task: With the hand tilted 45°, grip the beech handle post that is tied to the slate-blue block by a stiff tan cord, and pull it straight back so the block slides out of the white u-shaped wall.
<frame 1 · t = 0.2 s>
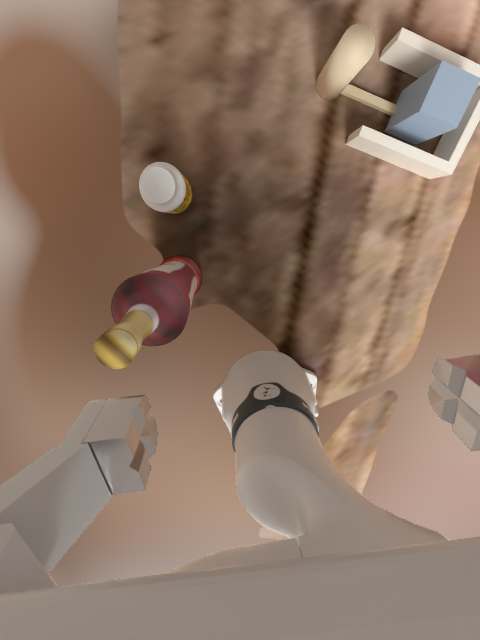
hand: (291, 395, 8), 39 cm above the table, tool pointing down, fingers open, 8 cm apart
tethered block: (408, 118, 40), on the table
supplement bottle: (174, 193, 43), on the table
white u-shaped wall: (408, 118, 40), on the table
liquor: (180, 276, 47), on the table
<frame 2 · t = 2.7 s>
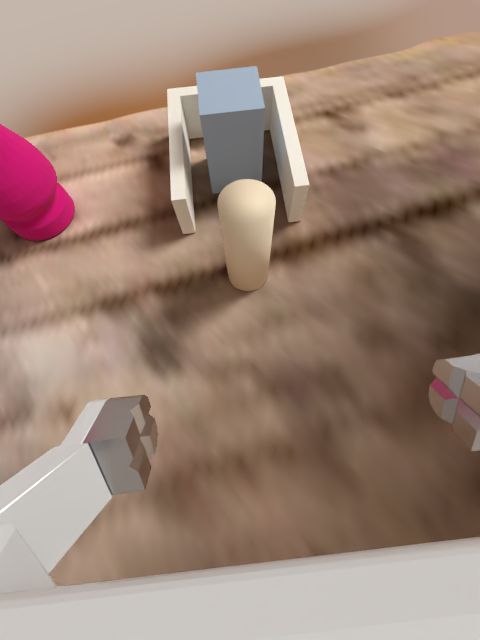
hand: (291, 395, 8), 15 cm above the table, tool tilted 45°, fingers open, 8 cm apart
pepper mill: (46, 216, 30), on the table
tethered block: (234, 172, 31), on the table
white u-shaped wall: (234, 172, 31), on the table
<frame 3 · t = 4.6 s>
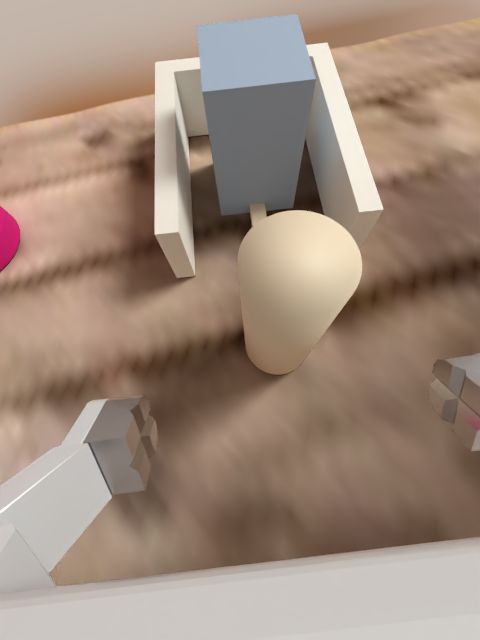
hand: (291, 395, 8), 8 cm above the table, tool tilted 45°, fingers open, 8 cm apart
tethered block: (252, 184, 21), on the table
white u-shaped wall: (252, 184, 21), on the table
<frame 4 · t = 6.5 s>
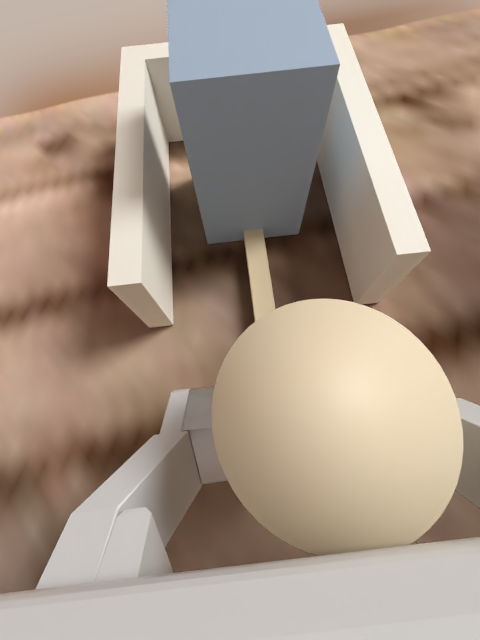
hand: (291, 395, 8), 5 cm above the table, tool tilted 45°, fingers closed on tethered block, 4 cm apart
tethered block: (248, 202, 17), on the table, touching gripper
white u-shaped wall: (248, 202, 17), on the table
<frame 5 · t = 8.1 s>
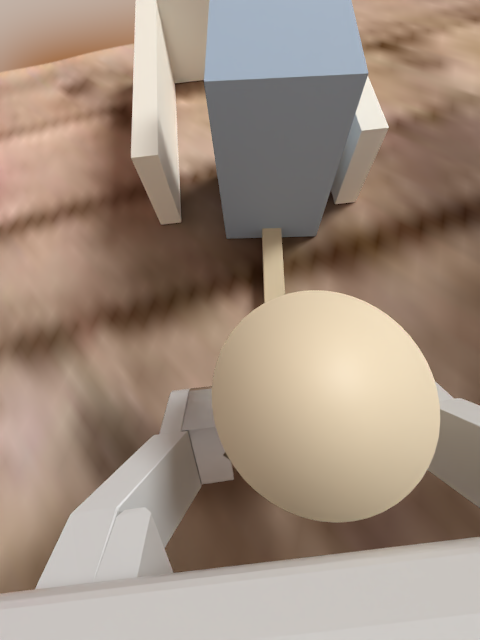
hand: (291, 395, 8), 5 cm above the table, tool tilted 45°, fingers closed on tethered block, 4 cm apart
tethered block: (269, 201, 17), on the table, touching gripper
white u-shaped wall: (244, 128, 20), on the table
when the fingers open (5 cm above the table, at t = 10.0 s): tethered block stays where it is, on the table.
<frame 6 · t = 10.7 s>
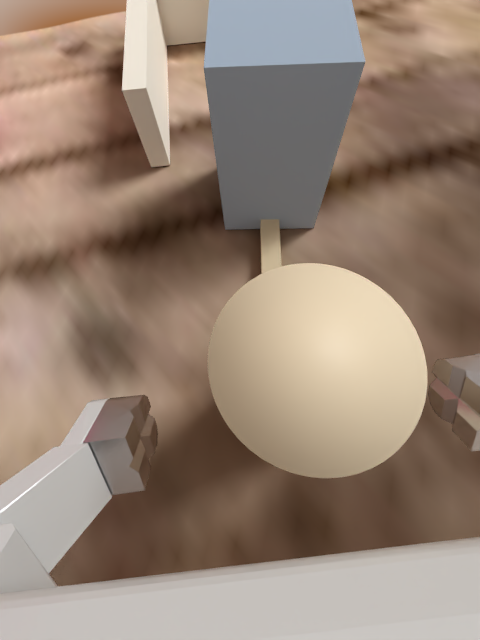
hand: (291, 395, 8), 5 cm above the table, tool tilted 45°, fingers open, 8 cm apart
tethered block: (267, 194, 17), on the table
white u-shaped wall: (230, 85, 21), on the table
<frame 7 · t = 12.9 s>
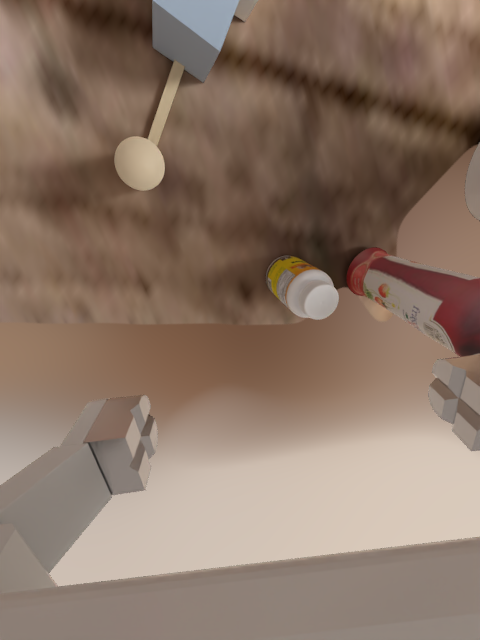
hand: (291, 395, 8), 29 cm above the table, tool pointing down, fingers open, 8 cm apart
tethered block: (189, 35, 26), on the table
supplement bottle: (283, 274, 39), on the table
liquor: (362, 269, 42), on the table
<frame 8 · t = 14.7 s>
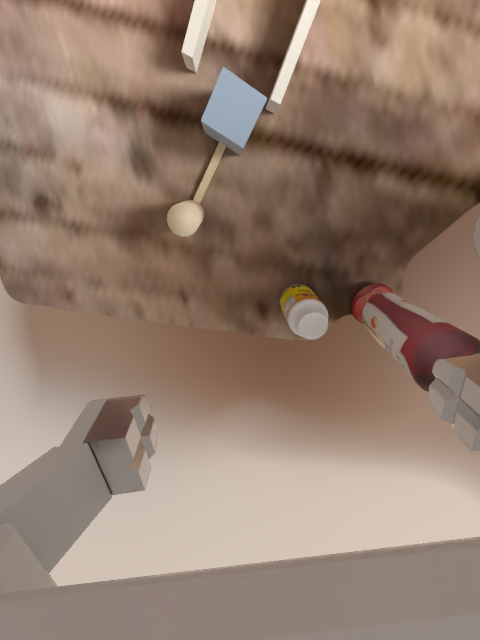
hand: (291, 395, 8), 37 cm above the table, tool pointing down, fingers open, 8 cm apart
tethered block: (232, 124, 37), on the table
supplement bottle: (295, 298, 47), on the table
white u-shaped wall: (254, 20, 33), on the table
liquor: (368, 300, 48), on the table
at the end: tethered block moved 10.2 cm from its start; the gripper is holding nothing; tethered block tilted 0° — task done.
